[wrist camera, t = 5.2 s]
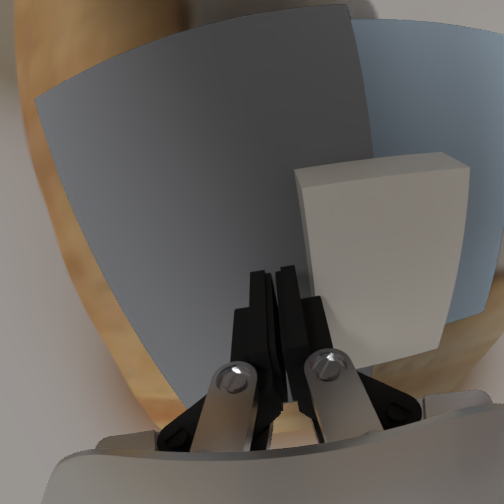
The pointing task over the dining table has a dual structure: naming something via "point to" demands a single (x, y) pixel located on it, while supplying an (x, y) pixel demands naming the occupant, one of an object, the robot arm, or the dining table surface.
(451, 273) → the tile
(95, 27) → the dining table surface
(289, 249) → the panel
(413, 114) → the mat
